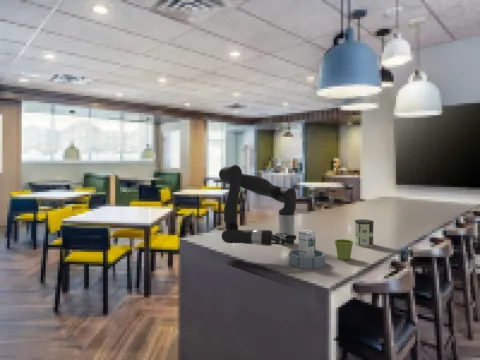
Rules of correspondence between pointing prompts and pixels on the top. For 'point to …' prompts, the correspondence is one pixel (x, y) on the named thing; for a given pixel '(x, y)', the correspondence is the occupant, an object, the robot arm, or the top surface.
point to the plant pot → (343, 248)
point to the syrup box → (307, 243)
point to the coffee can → (364, 233)
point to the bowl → (307, 260)
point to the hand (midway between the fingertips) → (295, 239)
